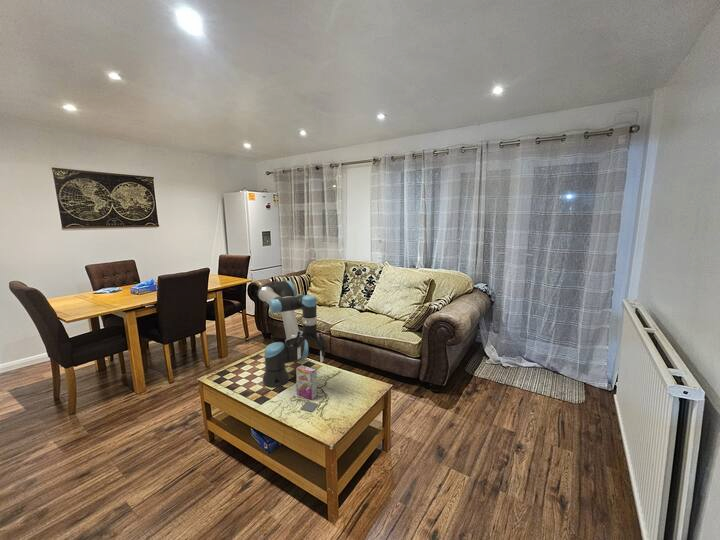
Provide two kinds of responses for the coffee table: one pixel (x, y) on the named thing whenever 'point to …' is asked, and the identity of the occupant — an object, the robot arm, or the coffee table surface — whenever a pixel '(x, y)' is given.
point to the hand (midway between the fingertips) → (310, 359)
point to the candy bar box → (306, 382)
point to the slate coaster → (309, 406)
